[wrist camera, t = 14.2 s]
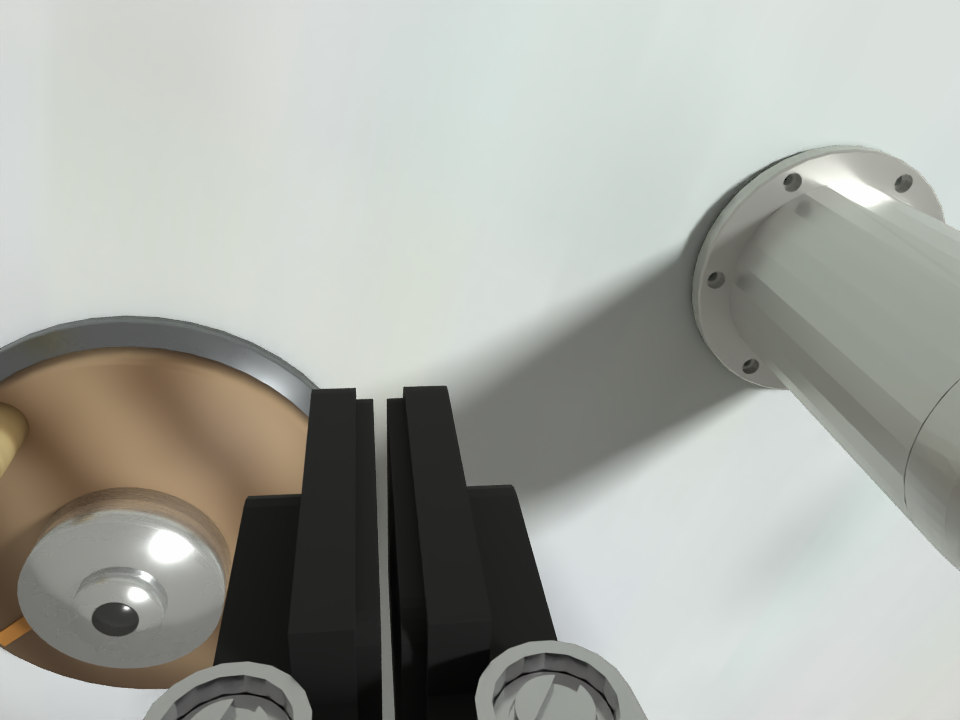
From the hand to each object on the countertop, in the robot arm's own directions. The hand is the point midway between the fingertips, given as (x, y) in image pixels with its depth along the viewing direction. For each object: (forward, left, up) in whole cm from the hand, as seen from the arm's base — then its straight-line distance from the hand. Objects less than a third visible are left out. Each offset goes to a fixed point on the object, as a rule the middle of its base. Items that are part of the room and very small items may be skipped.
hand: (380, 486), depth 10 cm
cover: (+12, +22, -24) cm, 35 cm away
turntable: (+11, +21, -26) cm, 35 cm away
